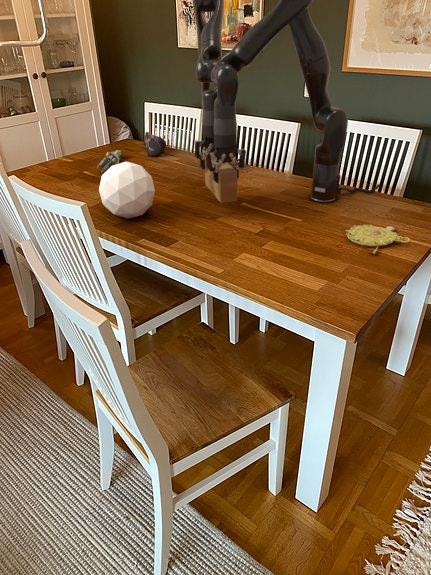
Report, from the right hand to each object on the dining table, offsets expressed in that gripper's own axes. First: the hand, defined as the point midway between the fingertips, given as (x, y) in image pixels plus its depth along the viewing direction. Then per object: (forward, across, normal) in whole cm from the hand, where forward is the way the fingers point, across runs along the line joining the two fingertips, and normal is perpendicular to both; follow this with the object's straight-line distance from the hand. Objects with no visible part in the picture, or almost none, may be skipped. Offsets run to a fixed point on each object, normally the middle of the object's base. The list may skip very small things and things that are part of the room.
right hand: (226, 181), depth 154 cm
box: (+7, 0, +7) cm, 10 cm away
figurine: (+13, -34, +76) cm, 85 cm away
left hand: (0, 0, +14) cm, 14 cm away
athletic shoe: (+13, -9, +91) cm, 92 cm away
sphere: (+13, -33, +12) cm, 37 cm away
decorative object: (+13, +38, -35) cm, 54 cm away
